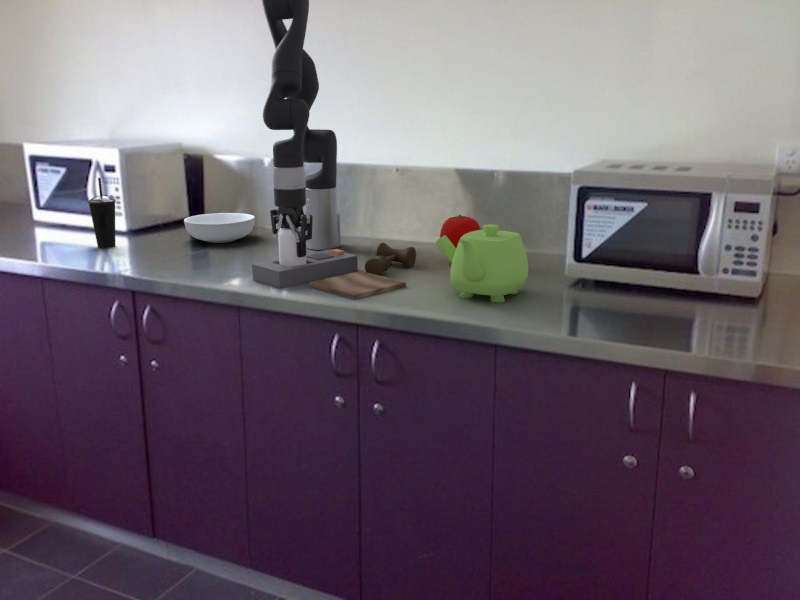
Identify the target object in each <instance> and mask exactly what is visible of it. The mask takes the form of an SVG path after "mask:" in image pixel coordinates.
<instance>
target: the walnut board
mask: <svg viewBox="0 0 800 600" xmlns="http://www.w3.org/2000/svg"><path fill="white" fill-rule="evenodd" d="M308 283H309V287H310V288H313V287H314V288H313V289H316V288H317V290H320V289H321V290H320V291H323V290H324V291H323V292H327V291H328V292H327V293H330V292H331V294H333V293H335V294H334V295H337V294H339V295H338V296H340V295H342V296H341V297H344V296H347V297H350V298H353V299H352V300H356V299H355V298H358V299H361V298H360V297H362V298H366V297H369V295H370V296H375V295H377V294H381V293H385V292H389V291H393V290H394V291H395V290H397V289H398V290H399V289H401V288H405V287H407V284H406V283H407V281H403V280H399V279H394V278H390V277H387V276H384V275H381V276H379V275H375V274H371V273H367V272H366V271H363V270H358V271H356V272H351V273H347V274H342V275H338V276H333V277H329V278H324V279H320V280H315V281H311V282H308ZM365 296H366V297H365ZM347 297H346V298H347ZM350 298H349V299H350Z"/></svg>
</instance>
